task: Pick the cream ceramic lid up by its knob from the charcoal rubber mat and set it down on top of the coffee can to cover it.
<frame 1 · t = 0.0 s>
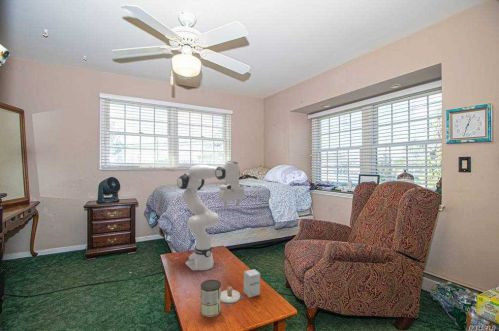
hand: (232, 206, 156), 48 cm above the table, fingers open, 8 cm apart
lid: (229, 297, 135), resting on mat
mat: (229, 298, 135), on the table
coffee can: (210, 311, 123), on the table
supplement box: (251, 294, 140), on the table
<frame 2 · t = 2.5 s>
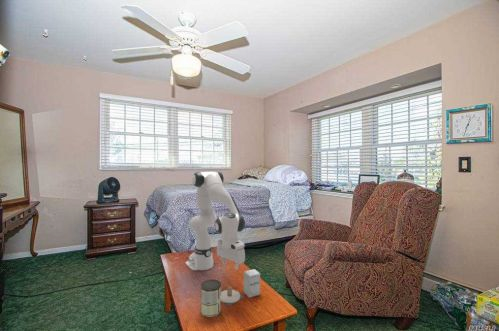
hand: (230, 266, 135), 18 cm above the table, fingers open, 8 cm apart
nothing on the table moved.
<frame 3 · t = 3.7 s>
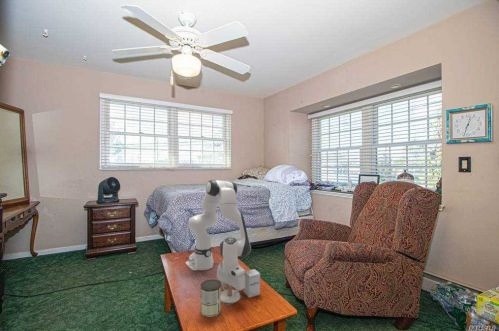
hand: (230, 292, 135), 3 cm above the table, fingers open, 8 cm apart
nothing on the table moved.
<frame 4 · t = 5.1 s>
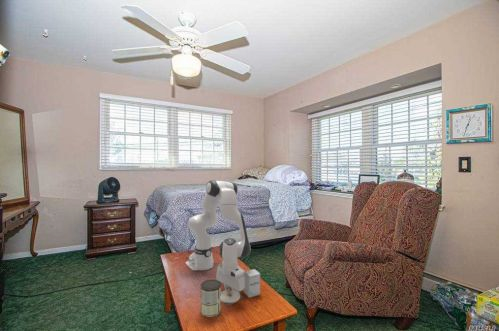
hand: (229, 292, 135), 3 cm above the table, fingers closed on lid, 3 cm apart
lid: (229, 297, 135), resting on mat, touching gripper
everything else where it was.
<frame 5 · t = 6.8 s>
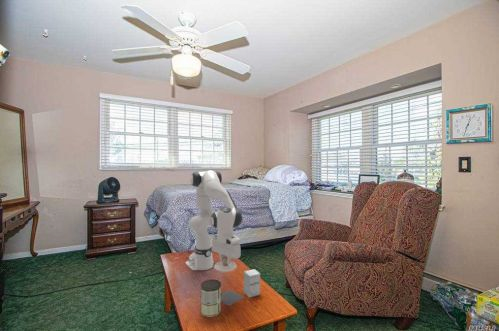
hand: (225, 262, 132), 22 cm above the table, fingers closed on lid, 3 cm apart
lid: (225, 267, 132), point 19 cm above the table, touching gripper
everything else where it was.
when the fingers open (18 cm above the table, at t = 8.6 s): lid drops 2 cm, resting on coffee can.
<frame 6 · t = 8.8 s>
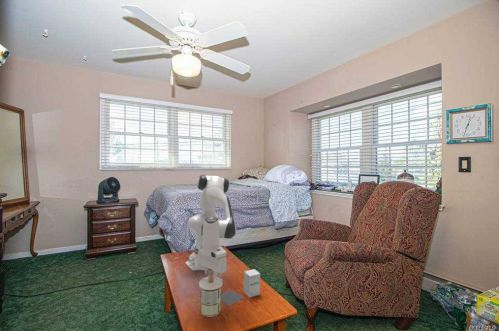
hand: (210, 276, 123), 18 cm above the table, fingers open, 5 cm apart
lid: (210, 284, 123), point 14 cm above the table, touching coffee can
coffee can: (210, 311, 123), on the table, touching lid
everything else where it was.
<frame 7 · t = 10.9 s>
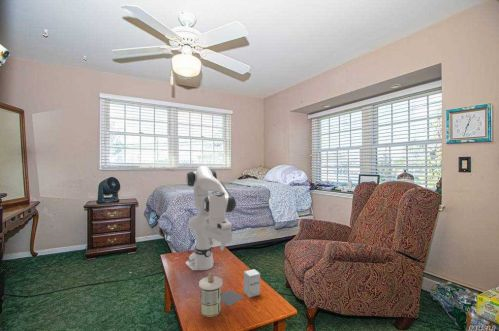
hand: (216, 247, 129), 31 cm above the table, fingers open, 8 cm apart
nothing on the table moved.
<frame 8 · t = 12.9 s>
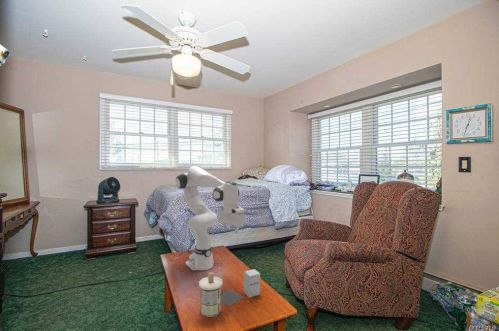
hand: (230, 231, 145), 35 cm above the table, fingers open, 8 cm apart
nothing on the table moved.
at the end: lid 0.1 cm from the coffee can (horizontally); lid point 14.0 cm above the table; lid tilted 0° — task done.
